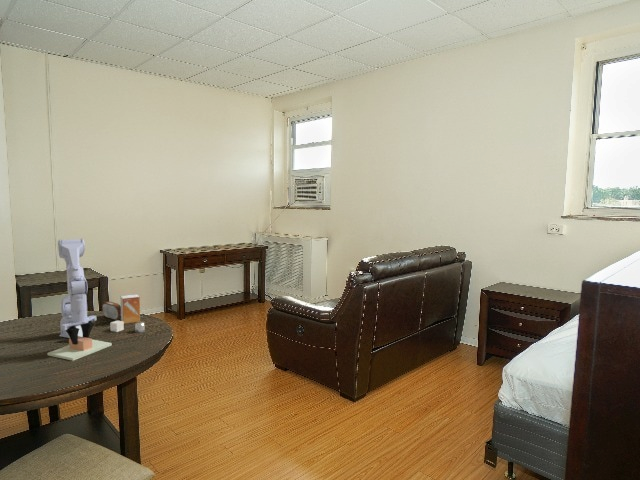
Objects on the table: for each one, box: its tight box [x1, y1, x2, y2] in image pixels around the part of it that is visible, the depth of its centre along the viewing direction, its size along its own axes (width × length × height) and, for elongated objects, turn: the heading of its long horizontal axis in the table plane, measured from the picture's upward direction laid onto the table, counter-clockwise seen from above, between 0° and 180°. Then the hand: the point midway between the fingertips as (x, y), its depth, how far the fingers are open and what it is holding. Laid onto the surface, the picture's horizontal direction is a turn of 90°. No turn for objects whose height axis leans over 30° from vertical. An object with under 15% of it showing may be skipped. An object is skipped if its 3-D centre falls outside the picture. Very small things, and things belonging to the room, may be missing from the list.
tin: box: [101, 300, 121, 321], centre depth 213 cm, size 15×3×8 cm, turn 57°
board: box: [47, 339, 112, 362], centre depth 170 cm, size 14×18×1 cm
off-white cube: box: [109, 320, 125, 333], centre depth 195 cm, size 4×4×4 cm
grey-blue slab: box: [76, 326, 83, 337], centre depth 181 cm, size 6×4×2 cm
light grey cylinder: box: [134, 321, 146, 334], centre depth 194 cm, size 4×4×4 cm
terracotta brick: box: [68, 336, 93, 351], centre depth 169 cm, size 8×4×4 cm, turn 69°
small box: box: [119, 293, 141, 325], centre depth 208 cm, size 8×6×13 cm
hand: (80, 342), depth 169 cm, fingers open, 4 cm apart
